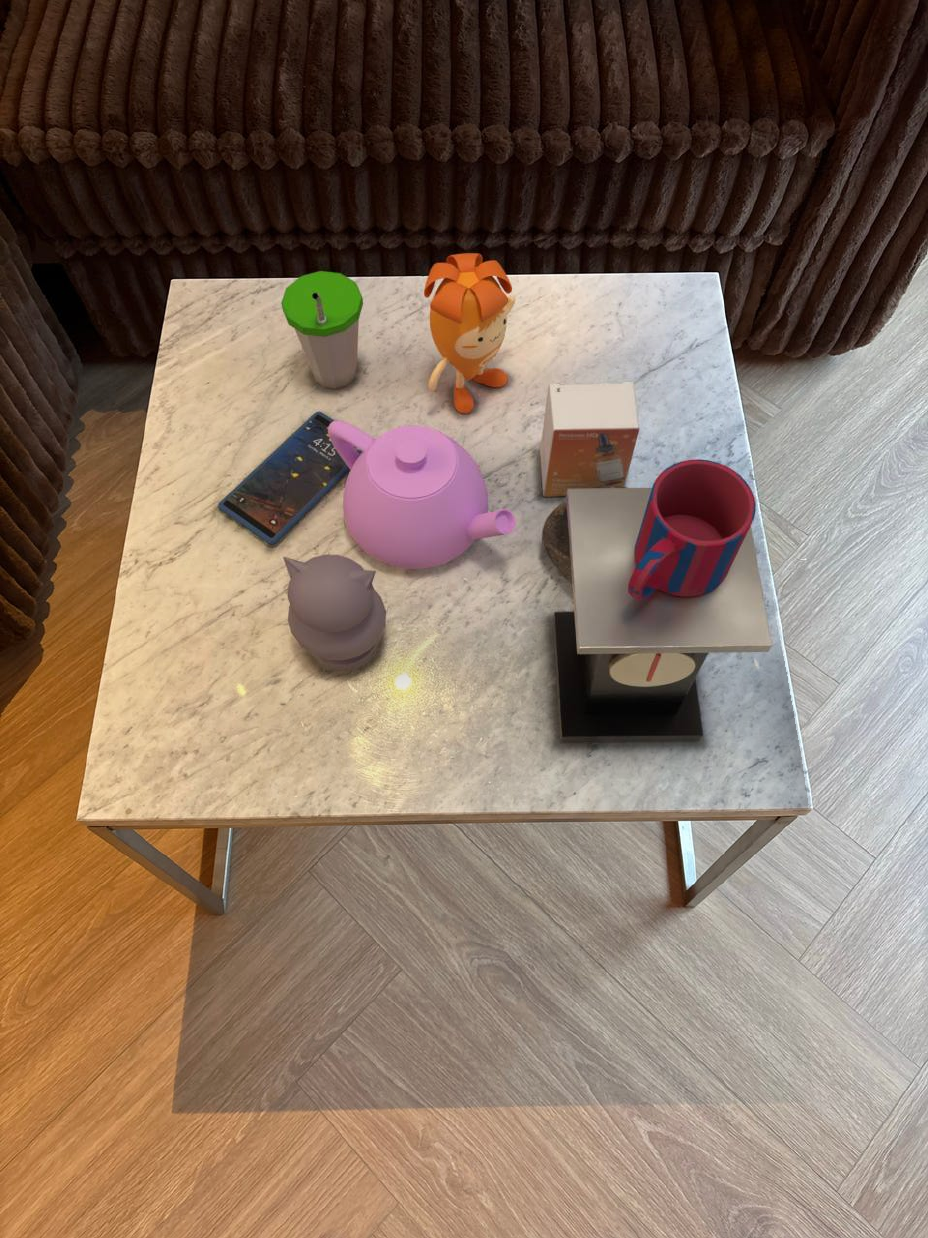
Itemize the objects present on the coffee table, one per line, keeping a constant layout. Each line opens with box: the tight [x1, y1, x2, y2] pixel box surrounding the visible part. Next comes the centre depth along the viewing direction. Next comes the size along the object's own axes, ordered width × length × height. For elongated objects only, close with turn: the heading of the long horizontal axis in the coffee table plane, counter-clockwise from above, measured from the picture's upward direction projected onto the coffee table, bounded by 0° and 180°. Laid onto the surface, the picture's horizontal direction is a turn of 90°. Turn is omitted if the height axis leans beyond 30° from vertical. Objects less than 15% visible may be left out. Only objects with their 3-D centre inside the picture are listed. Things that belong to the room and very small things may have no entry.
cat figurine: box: [282, 554, 387, 672], centre depth 81 cm, size 8×8×12 cm
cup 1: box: [280, 270, 364, 391], centre depth 94 cm, size 8×8×15 cm
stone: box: [541, 485, 628, 585], centre depth 88 cm, size 11×11×5 cm
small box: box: [539, 381, 640, 498], centre depth 90 cm, size 8×6×10 cm
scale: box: [552, 487, 773, 744], centre depth 75 cm, size 13×13×20 cm
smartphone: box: [217, 411, 363, 547], centre depth 94 cm, size 8×1×15 cm
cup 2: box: [628, 458, 757, 600], centre depth 63 cm, size 7×10×7 cm
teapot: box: [328, 419, 517, 570], centre depth 87 cm, size 14×20×11 cm
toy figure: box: [423, 252, 517, 415], centre depth 93 cm, size 12×8×15 cm, turn 134°
